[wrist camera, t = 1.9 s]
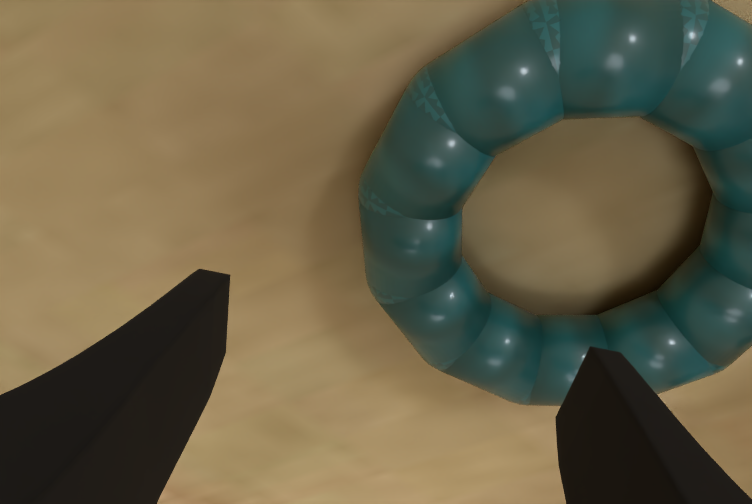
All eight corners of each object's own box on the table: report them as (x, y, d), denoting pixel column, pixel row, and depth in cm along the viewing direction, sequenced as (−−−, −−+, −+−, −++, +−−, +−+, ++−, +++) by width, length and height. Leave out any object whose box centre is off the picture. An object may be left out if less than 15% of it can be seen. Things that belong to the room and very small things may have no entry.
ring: (614, 410, 24) (635, 475, 21) (305, 271, 22) (286, 325, 19) (914, 123, 17) (996, 168, 14) (508, -119, 15) (521, -116, 12)
